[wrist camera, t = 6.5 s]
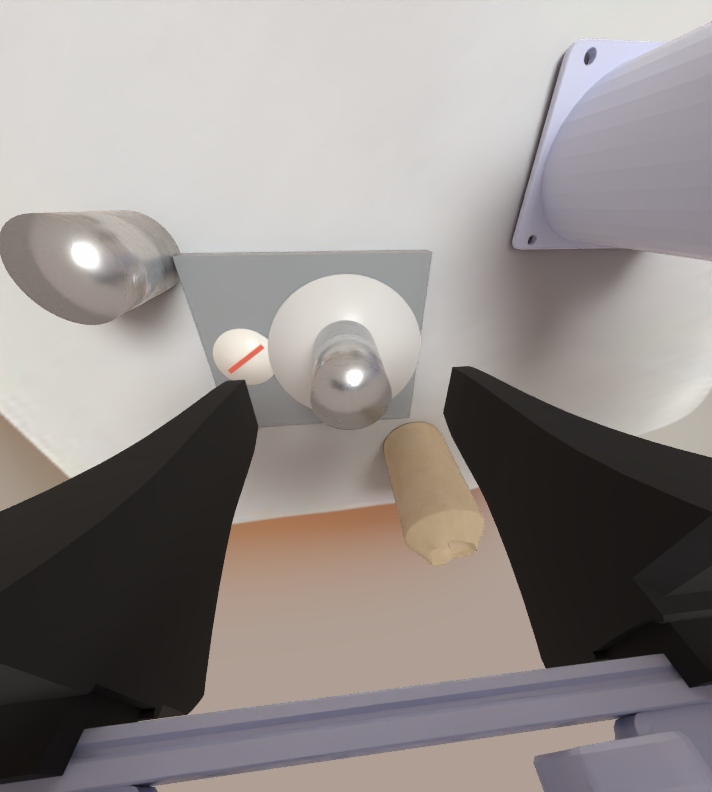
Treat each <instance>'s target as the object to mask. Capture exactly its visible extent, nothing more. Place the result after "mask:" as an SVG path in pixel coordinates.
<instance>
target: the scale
mask: <svg viewBox="0 0 712 792" xmlns="http://www.w3.org/2000/svg"><path fill="white" fill-rule="evenodd" d="M172 257H173V260H174V263H175V266H176V269H177V272H178V275H179V278H180V281H181V284H182V287H183V289H184V292H185V295H186V298H187V301H188V304H189V307H190V310H191V313H192V316H193V319H194V322H195V324H196V327H197V330H198V333H199V336H200V339H201V342H202V345H203V348H204V351H205V354H206V356H207V359H208V362H209V365H210V368H211V371H212V374H213V377H214V380H215V383H216V386H219V385H220V384H222V383H224V382H225V381H230V380H245V381H246V385H247V388H248V392H249V395H250V399H251V402H252V405H253V409H254V412H255V416H256V419H257V423H258V427H266V426H283V425H300V424H316V423H324V422H323V421H321V420H320V419H319V418H318V417H317V416H316V414H315V413H314V411H313V409H312V406H311V402H310V394H311V381H312V368H313V355H314V344H315V340H316V338H317V336H318V334H319V333H320V332H321V330H322V329H323V328H325V327H326V326H327V325H329V324H331V323H333V322H336V321H340V320H350V321H355V322H358V323H360V324H362V325H363V326H365V327H366V328H367V329H368V330H369V331H370V333H371V334H372V336H373V338H374V341H375V343H376V346H377V349H378V352H379V355H380V358H381V360H382V363H383V366H384V369H385V372H386V375H387V377H388V380H389V383H390V386H391V390H392V399H391V403H390V406H389V408H388V410H387V411H386V413H385V414H384V415H383V416H382V417H381V418H380V419H379V420H383V419H400V418H409V416H410V408H411V401H412V394H413V387H414V380H415V372H416V367H417V364H418V361H419V356H420V349H421V338H420V336H421V329H422V322H423V314H424V307H425V300H426V293H427V286H428V278H429V271H430V264H431V257H432V252H430V251H428V250H383V251H317V252H251V253H184V254H178V255H175V256H172Z"/></svg>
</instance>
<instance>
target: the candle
mask: <svg viewBox="0 0 712 792" xmlns="http://www.w3.org/2000/svg"><path fill="white" fill-rule="evenodd" d="M384 455H385V460H386V464H387V468H388V472H389V477H390V481H391V485H392V489H393V494H394V498H395V502H396V506H397V511H398V515H399V519H400V523H401V528H402V532H403V536H404V540H405V543H406V545H407V546H408V547H409V548H410V549H411V550H413V551H414V552H416V553H417V554H418V555H420V556H421V557H422V558H424V559H425V560H426V561H428V562H429V563H430V564H431V565H432V566H439V565H444V564H446V563H448V561H449V560H451V559H453V558H457V557H460V556H466V555H469V554H471V553H473V552H474V551H475V550H476V551H477V548H478V545H479V542H480V539H481V537H482V534H483V532H484V529H485V520H484V518H483V515H482V513H481V511H480V509H479V508H478V505H477V504H476V502H475V500H474V498H473V496H472V494H471V492H470V490H469V488H468V486H467V484H466V482H465V480H464V478H463V476H462V474H461V472H460V470H459V468H458V466H457V464H456V462H455V460H454V458H453V456H452V454H451V452H450V450H449V448H448V446H447V444H446V442H445V440H444V438H443V436H442V434H441V433H440V431H439V430H438V429H437V428H436V427H435V426H433V425H431V424H428V423H424V422H412V423H408V424H404V425H402V426H400V427H398V428H396V429H395V430H394V431H392V432H391V433H390V434H389V435H388V437H387V438H386V440H385V443H384Z"/></svg>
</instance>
